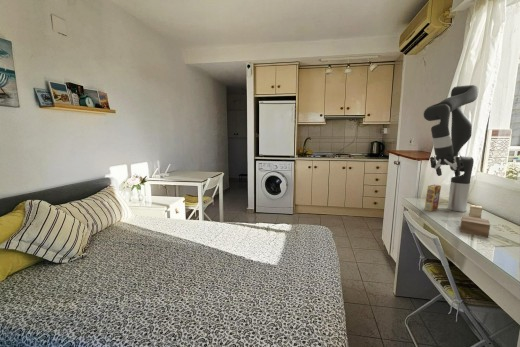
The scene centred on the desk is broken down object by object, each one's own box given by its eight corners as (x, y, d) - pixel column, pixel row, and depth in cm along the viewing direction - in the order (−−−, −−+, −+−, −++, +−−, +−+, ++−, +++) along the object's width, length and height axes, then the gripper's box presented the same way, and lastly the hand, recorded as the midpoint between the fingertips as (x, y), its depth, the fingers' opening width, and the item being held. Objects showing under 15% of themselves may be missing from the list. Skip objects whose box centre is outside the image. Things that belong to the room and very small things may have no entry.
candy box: (432, 211, 151) (434, 186, 149) (424, 209, 155) (426, 185, 152) (438, 209, 156) (441, 185, 154) (430, 207, 159) (433, 184, 157)
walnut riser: (460, 226, 127) (462, 215, 126) (486, 231, 121) (488, 219, 120) (460, 232, 119) (461, 220, 118) (488, 237, 113) (490, 225, 112)
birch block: (467, 223, 131) (470, 204, 130) (479, 225, 128) (482, 206, 127) (467, 225, 128) (470, 206, 126) (479, 227, 125) (482, 208, 124)
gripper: (463, 142, 118) (468, 174, 121) (433, 144, 132) (439, 173, 134) (452, 146, 116) (458, 179, 118) (423, 148, 129) (429, 177, 132)
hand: (448, 175), depth 126 cm, fingers open, 8 cm apart
